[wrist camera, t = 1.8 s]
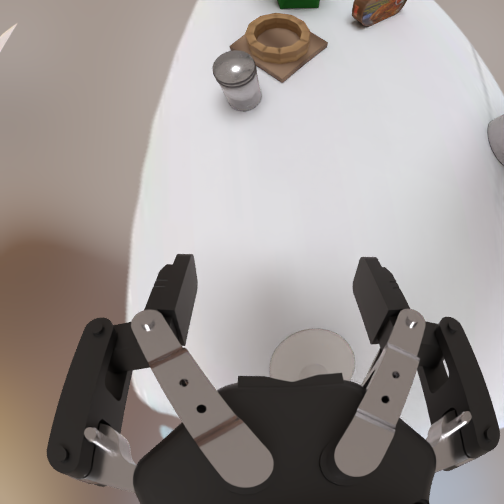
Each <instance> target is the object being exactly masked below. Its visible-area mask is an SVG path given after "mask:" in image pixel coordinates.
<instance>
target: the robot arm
mask: <svg viewBox="0 0 504 504" xmlns="http://www.w3.org/2000/svg"><path fill="white" fill-rule="evenodd" d="M488 138H489V142H490V145H491V148H492V150H493V152H494V154H495V155H496V157H497V158H498V160H499V161H500V162H501V163H502V164H503V165H504V115H502V116H500V117H498V118H496V119H494V120H492V121H491V122H490V123H489V126H488ZM196 293H197V275H196V268H195V261H194V256H193V254H177V255H176V258H175V260H174V263H173V265H171V264H167V265H165V266H164V267H163V268H162V269H161V270H160V272H159V274H158V276H157V279H156V281H155V284H154V287H153V289H152V291H151V294H150V296H149V299H148V302H147V304H146V307H145V309H144V311H141V312H139V313H138V314H136V315H135V316H134V318H133V319H132V322H129V323H124V324H118V325H113V324H112V323H111V321H110V320H109V319H107V318H97V319H94V320H92V321H90V322H89V323H88V324H87V326H86V327H85V329H84V331H83V334H82V336H81V339H80V341H79V344H78V347H77V349H76V352H75V355H74V357H73V360H72V363H71V365H70V368H69V371H68V374H67V378H66V380H65V383H64V386H63V389H62V393H61V396H60V399H59V403H58V406H57V410H56V414H55V417H54V421H53V425H52V429H51V433H50V438H49V442H48V447H47V458H48V460H49V462H50V464H51V466H52V467H53V468H54V469H55V470H57V471H58V472H60V473H63V474H65V475H68V476H70V477H71V478H73V479H76V480H79V481H82V482H85V483H88V484H94V485H97V486H102V487H104V486H110V487H114V488H117V489H122V490H125V491H129V492H134V493H136V495H137V497H138V499H139V502H140V504H429V495H430V489H431V484H432V480H433V477H434V474H435V473H436V472H438V471H441V470H444V471H450V470H453V469H454V468H457V467H459V466H461V465H464V464H466V463H468V462H470V461H472V460H474V459H476V458H478V457H480V456H482V455H484V454H486V453H487V452H489V451H491V450H492V449H494V448H495V447H496V446H497V444H498V442H499V438H500V431H499V426H498V422H497V419H496V415H495V411H494V408H493V405H492V401H491V398H490V395H489V392H488V389H487V386H486V383H485V380H484V378H483V375H482V372H481V370H480V367H479V365H478V362H477V360H476V357H475V355H474V352H473V350H472V348H471V345H470V343H469V341H468V339H467V336H466V334H465V332H464V330H463V328H462V326H461V324H460V323H459V322H458V321H457V320H455V319H454V318H451V317H444V318H443V319H442V320H441V321H440V323H439V324H435V323H430V322H425V320H424V318H423V316H422V315H421V314H420V313H419V312H417V311H415V310H413V309H410V307H409V305H408V303H407V301H406V299H405V297H404V295H403V293H402V292H401V290H400V289H399V286H398V284H397V283H396V280H395V278H394V276H393V275H392V273H391V272H390V271H389V270H387V269H386V268H385V267H382V266H381V265H380V263H379V261H378V259H377V258H376V257H361V258H360V260H359V264H358V267H357V271H356V274H355V277H354V281H353V293H354V296H355V299H356V301H357V304H358V307H359V310H360V313H361V316H362V319H363V322H364V325H365V328H366V331H367V334H368V337H369V340H370V343H371V344H380V349H379V351H378V353H377V355H376V357H375V359H374V361H373V363H372V365H371V367H370V369H369V371H368V373H367V375H366V377H365V379H364V381H363V382H362V384H361V385H359V384H357V383H354V382H351V381H348V380H343V375H342V373H332V374H319V375H315V376H312V377H308V378H305V379H301V380H298V381H294V382H290V381H284V380H279V379H274V378H270V377H265V376H238V383H235V384H231V385H228V386H225V387H223V388H221V389H219V390H217V391H216V389H215V388H214V387H213V385H212V384H211V383H210V381H209V380H208V378H207V377H206V376H205V374H204V373H203V372H202V370H201V369H200V367H199V366H198V364H197V363H196V362H195V360H194V359H193V357H192V356H191V354H190V353H189V351H188V350H187V349H186V348H183V347H182V346H185V344H186V339H187V334H188V329H189V325H190V320H191V316H192V311H193V307H194V302H195V298H196ZM444 359H445V361H446V364H447V367H448V370H449V378H448V376H447V373H446V370H445V367H444V364H443V360H444ZM149 367H151V369H152V371H153V373H154V375H155V377H156V379H157V380H158V382H159V384H160V386H161V388H162V389H163V391H164V393H165V395H166V396H167V398H168V400H169V401H170V403H171V405H172V406H173V408H174V410H175V411H176V413H177V415H178V416H179V418H180V419H181V421H182V423H181V424H180V425H179V426H178V427H176V428H175V429H174V430H173V431H172V432H171V433H170V434H169V435H168V436H167V437H165V438H164V439H163V440H162V441H161V442H160V443H159V444H158V445H156V446H155V447H154V448H153V449H152V450H151V451H150V452H148V453H147V454H146V455H145V456H144V457H143V458H142V459H141V460H140V461H139V462H138V464H137V465H136V464H135V463H134V462H133V460H132V458H131V453H130V445H129V443H128V441H127V440H126V439H125V438H124V437H123V436H122V435H121V434H120V433H121V427H122V421H123V415H124V410H125V405H126V400H127V395H128V389H129V385H130V380H131V376H132V371H133V370H137V369H143V368H149ZM416 371H418V374H419V378H420V381H421V385H422V389H423V392H424V396H425V400H426V404H427V408H428V413H429V417H430V422H431V427H430V429H429V431H428V437H427V438H426V440H425V439H424V438H423V437H422V436H420V435H419V434H418V433H417V432H416V431H414V430H413V429H412V428H411V427H410V426H409V425H407V424H406V423H405V422H404V421H403V420H402V419H400V418H399V416H400V414H401V412H402V409H403V407H404V404H405V402H406V399H407V396H408V394H409V391H410V388H411V386H412V383H413V380H414V377H415V374H416Z"/></svg>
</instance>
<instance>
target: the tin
mask: <svg viewBox="0 0 504 504" xmlns="http://www.w3.org/2000/svg"><path fill="white" fill-rule="evenodd" d="M406 1H407V0H355V1H354V3H353V9H352V16H353V17H354V18H355V19H356V20H358V21H359V22H361V23H362V24H363V25H364V26H371V25H374V24H376V23H378V22H380V21H382V20H384V19H386V18H388V17H391V16H393V15H395V14H396V13H398V12H399V11H400V10H401V9H402V8H403V6H404V5H405V3H406Z"/></svg>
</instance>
